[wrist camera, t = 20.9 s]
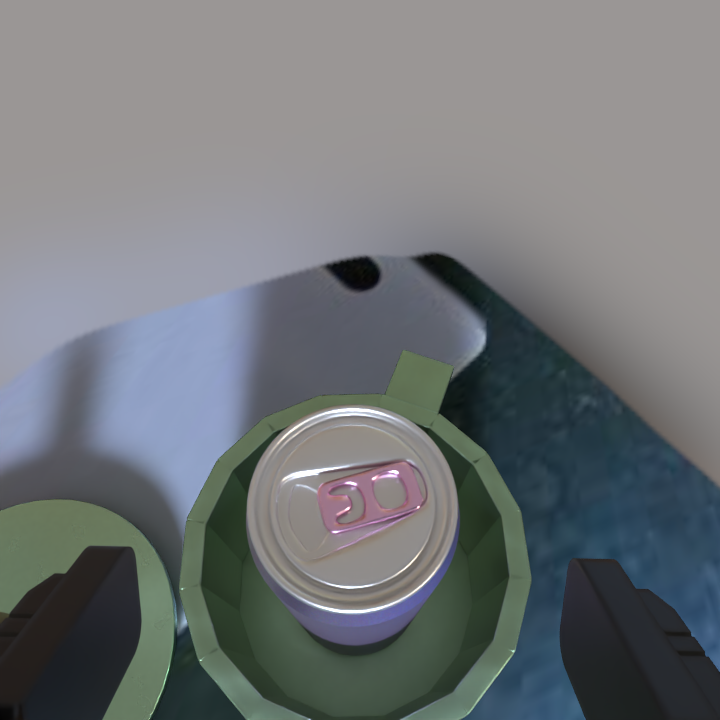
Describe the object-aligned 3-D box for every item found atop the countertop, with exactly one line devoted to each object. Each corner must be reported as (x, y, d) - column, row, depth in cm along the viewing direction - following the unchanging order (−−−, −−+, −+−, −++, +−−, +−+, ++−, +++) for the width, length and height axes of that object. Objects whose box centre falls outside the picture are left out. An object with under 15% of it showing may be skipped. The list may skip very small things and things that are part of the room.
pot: (526, 464, 33) (575, 396, 25) (420, 864, 25) (447, 937, 17) (309, 389, 35) (296, 305, 27) (148, 733, 27) (66, 747, 19)
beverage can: (435, 633, 28) (501, 579, 15) (310, 674, 27) (265, 655, 14) (395, 510, 31) (422, 374, 18) (281, 544, 30) (220, 428, 17)
